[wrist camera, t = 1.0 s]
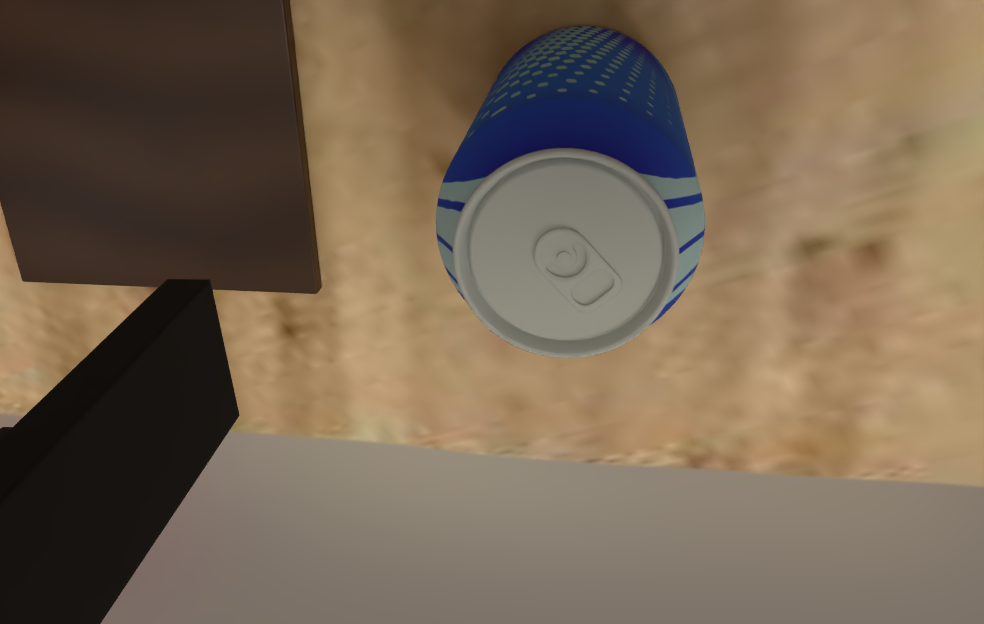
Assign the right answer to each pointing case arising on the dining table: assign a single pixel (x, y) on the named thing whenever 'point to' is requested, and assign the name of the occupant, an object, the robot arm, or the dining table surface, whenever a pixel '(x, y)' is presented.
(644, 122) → the beer can
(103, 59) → the walnut trivet
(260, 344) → the dining table surface
